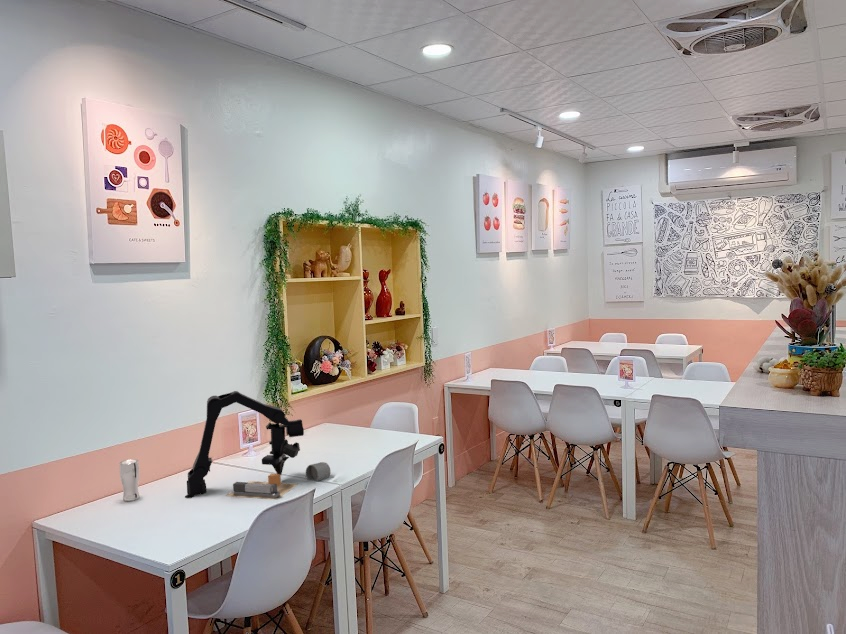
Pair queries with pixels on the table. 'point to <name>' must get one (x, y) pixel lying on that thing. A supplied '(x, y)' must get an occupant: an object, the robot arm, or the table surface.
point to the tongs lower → (256, 494)
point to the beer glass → (130, 479)
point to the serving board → (281, 488)
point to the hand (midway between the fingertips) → (279, 475)
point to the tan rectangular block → (274, 479)
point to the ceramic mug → (318, 471)
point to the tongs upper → (252, 487)
